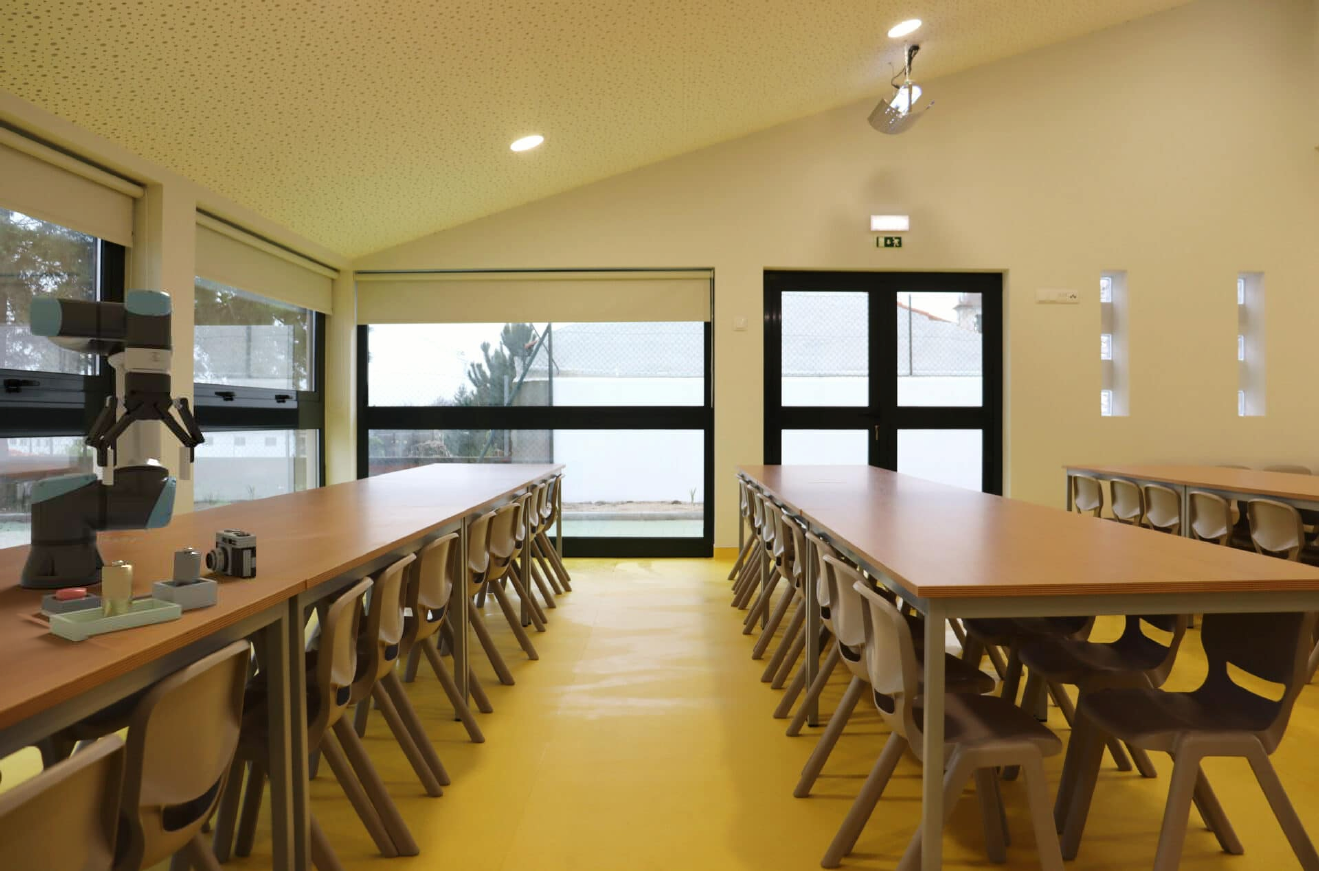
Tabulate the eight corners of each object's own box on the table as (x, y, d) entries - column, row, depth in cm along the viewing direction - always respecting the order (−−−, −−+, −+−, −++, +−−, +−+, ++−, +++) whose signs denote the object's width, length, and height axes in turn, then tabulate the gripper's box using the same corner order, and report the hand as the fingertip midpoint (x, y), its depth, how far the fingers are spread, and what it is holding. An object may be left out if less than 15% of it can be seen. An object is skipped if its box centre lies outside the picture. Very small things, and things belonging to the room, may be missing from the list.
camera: (197, 573, 188) (197, 530, 188) (234, 568, 194) (234, 527, 194) (219, 582, 178) (219, 537, 178) (257, 577, 185) (258, 533, 184)
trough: (49, 632, 136) (49, 615, 136) (155, 613, 150) (155, 598, 150) (74, 641, 131) (74, 624, 131) (181, 621, 145) (181, 605, 145)
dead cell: (169, 603, 154) (172, 547, 154) (194, 601, 157) (198, 545, 157) (174, 607, 151) (178, 550, 151) (200, 605, 154) (204, 549, 154)
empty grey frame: (105, 606, 154) (105, 601, 154) (158, 597, 163) (158, 592, 162) (124, 612, 150) (124, 607, 150) (178, 603, 158) (178, 598, 158)
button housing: (37, 615, 147) (37, 596, 147) (79, 608, 152) (79, 590, 152) (58, 623, 142) (58, 603, 142) (101, 616, 147) (101, 597, 147)
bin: (152, 609, 153) (152, 582, 153) (195, 601, 160) (195, 576, 160) (173, 615, 149) (173, 588, 149) (217, 607, 156) (217, 581, 155)
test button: (52, 601, 147) (52, 590, 147) (79, 597, 150) (79, 586, 150) (62, 605, 144) (62, 593, 144) (90, 600, 148) (90, 589, 148)
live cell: (97, 623, 140) (97, 561, 140) (125, 618, 144) (125, 558, 143) (109, 627, 138) (109, 564, 137) (137, 622, 141) (137, 560, 141)
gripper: (81, 368, 142) (81, 488, 143) (224, 374, 163) (222, 479, 164) (63, 368, 146) (63, 484, 147) (205, 374, 167) (204, 476, 168)
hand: (147, 482), depth 156 cm, fingers open, 13 cm apart
